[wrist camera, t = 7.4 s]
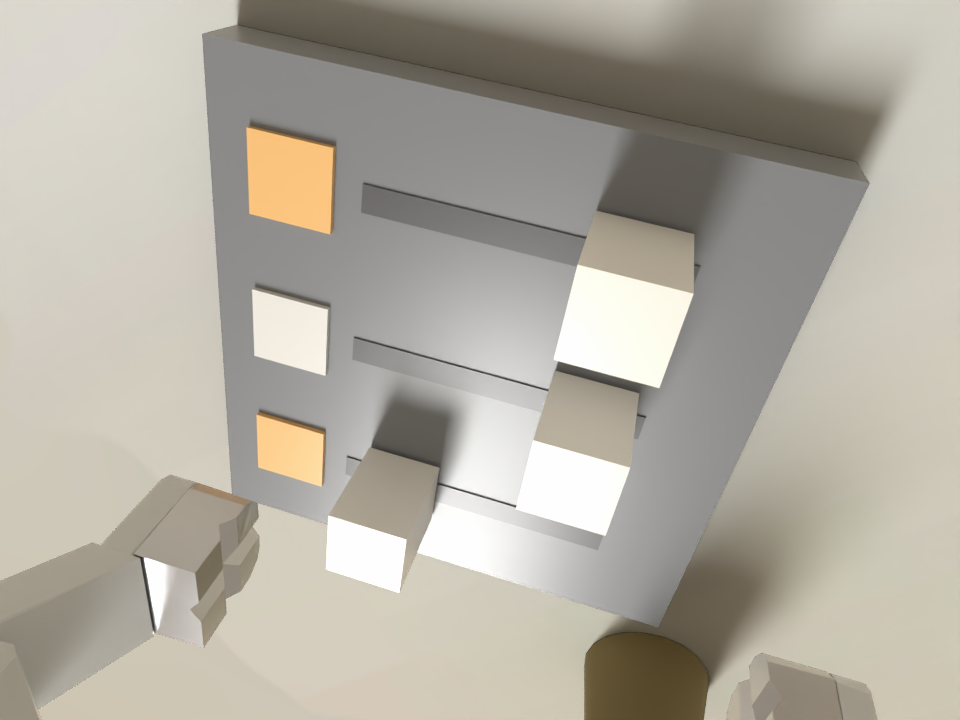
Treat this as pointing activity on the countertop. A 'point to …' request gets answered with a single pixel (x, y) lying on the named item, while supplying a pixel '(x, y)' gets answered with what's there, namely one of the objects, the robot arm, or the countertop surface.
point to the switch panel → (489, 297)
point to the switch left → (381, 519)
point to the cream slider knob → (628, 299)
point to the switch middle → (580, 453)
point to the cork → (643, 680)
